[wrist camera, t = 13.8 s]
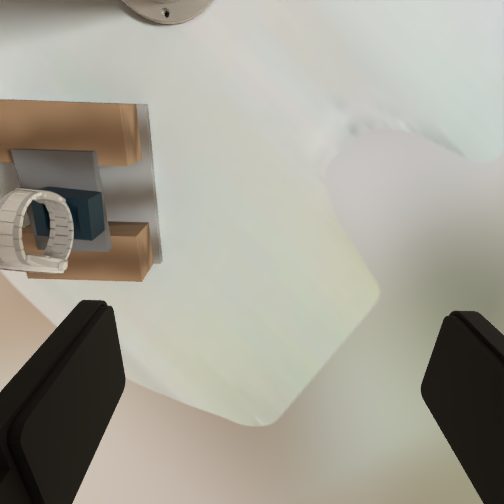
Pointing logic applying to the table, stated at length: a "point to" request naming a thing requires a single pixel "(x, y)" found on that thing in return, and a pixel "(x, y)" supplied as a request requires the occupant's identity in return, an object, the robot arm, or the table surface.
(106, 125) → the watch stand
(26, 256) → the watch
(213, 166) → the table surface
